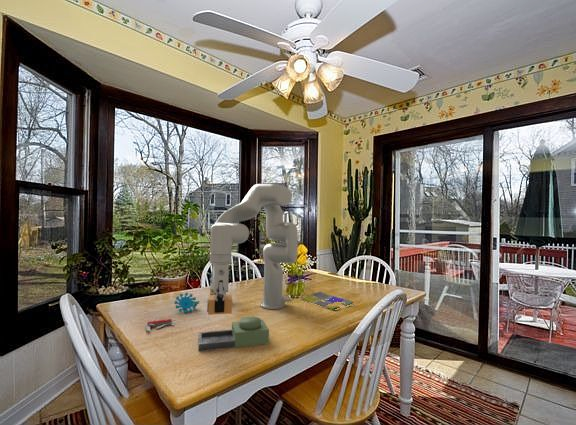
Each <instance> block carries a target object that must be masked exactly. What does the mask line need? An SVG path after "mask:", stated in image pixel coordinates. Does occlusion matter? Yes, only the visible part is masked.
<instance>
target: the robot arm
mask: <svg viewBox="0 0 576 425" xmlns="http://www.w3.org/2000/svg"><path fill="white" fill-rule="evenodd" d="M292 195H293V194H292V191H291V190H290V188H288V187H286V186H284V185H280V184H277V183H256V184H253V186H251V188H250V189H249V190H248V192H247V193H246V194H245V196H244V198H243V199H242V200H241V202H240V203H238V204H235V205H234V206H232V207H231V208H229V209H227V210H225V211H224V212H223V213H222V214H221V215H219V216H218V218H217V220H216V221H215V223H214V224H212V225H211V227H210V246H209V264H211V265H213V267H212V271H213V289H214V295H216V301H215V313H221V312H224V290H225V291H226V293H229V280H230V278H229V277H230V276H229V264H231V263H232V249H233V248H232V247H233V244H242V243H245V242H246V241H247V240H248V239H249V236H250V231H249V228H248V227H247V225H246V224H243V223H241V222H245V221H248V220H251V219H254V218H255V217H256V216H257V215H258V214H259V213H260V211H261V209H262V208H263V209H264V211H265V234H266V235H265V236H266V238H267V239H268V240H270V241H274V242H269V243H267V244H265V245H264V247H263V249H262V255H263V264H264V266H263V267H264V269H263V270H264V271H263V272H264V273H263V298H262V301H260V302H259V306H260V307H261V308H263V309H266V310H280V309H283V308H285V306H286V302H289V303H290V302H292V297H288V296H285V297H284V296H283V284H284V283H283V282H284V269H283V267H282V265H281V264H289V265H290V264H294V263H296V261H297V259H298V245H299V243H298V239H299V238H298V234H299V233H298V227H297V225H296V224H295V223H294V222H289V221H288V222H287V221H284V212H283V209H282V208H281V206H283V207H286V206H288V205H290V203H291V202H292ZM275 241H277V242H278V243H277V242H275ZM279 242H285V243H279Z"/></svg>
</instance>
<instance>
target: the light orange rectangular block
mask: <svg viewBox="0 0 576 425" xmlns="http://www.w3.org/2000/svg"><path fill="white" fill-rule="evenodd" d="M215 301H216V295H210V294H209V295H208V298H207V308H206V309H207V310H206V312H207V315H226V314H229V315H230V314H232V312H233V296H232V294H226V295H224V312H221V313H215Z"/></svg>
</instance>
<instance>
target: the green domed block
mask: <svg viewBox="0 0 576 425" xmlns="http://www.w3.org/2000/svg"><path fill="white" fill-rule="evenodd" d="M231 330H232V336H233V339H234V340H235V347H234V348H240V347H250V346H260V345H269V344H270V343H269V342H270V329H269V327H268V325H267V324H266V322H265V321H264V319H261V318H259V317H257V316H244V317H242V318H240V319H239V321H232V322H231Z"/></svg>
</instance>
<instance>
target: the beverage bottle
mask: <svg viewBox="0 0 576 425" xmlns="http://www.w3.org/2000/svg"><path fill="white" fill-rule="evenodd" d="M211 265H212V266H211V267H212V268H213V264H211ZM209 282H210V287H209V289H210V292H209V295H214V289H213V270H211V273H210V281H209ZM226 293H227V292H226V291H225V290H224V295H227V294H226Z"/></svg>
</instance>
